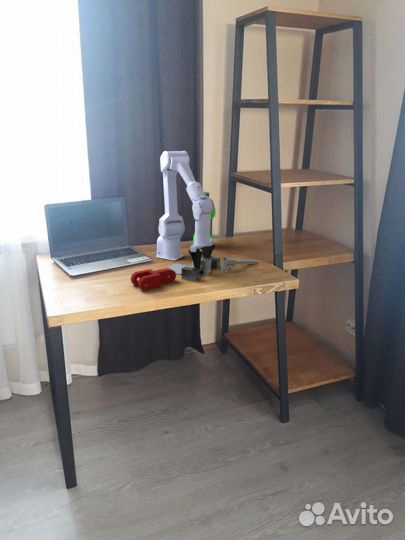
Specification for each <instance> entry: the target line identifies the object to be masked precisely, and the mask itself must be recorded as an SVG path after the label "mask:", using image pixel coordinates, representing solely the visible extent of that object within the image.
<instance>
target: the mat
mask: <svg viewBox="0 0 405 540" xmlns="http://www.w3.org/2000/svg"><path fill="white" fill-rule="evenodd" d="M185 266H187V267H192V265H191V266H190V265H186V264H185V265H184V264H180V263H173V264H172V265H170V266H168V267H167V268H170V269H172V270H173V271H175V273H176V276H177V275H178V276H181V275H182V268H183V267H185Z"/></svg>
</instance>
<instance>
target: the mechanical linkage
mask: <svg viewBox="0 0 405 540" xmlns="http://www.w3.org/2000/svg"><path fill="white" fill-rule="evenodd" d="M176 278H177V274H176V273H175V271H173V270H172V269H170V268H168V267H166V268H162V269H157V270H153V269H152V268H149V269H143V270H139V271H138V270H137V271H135V272H133V273H131V276H130V283H131V284H132V285H133V286H135V287H138V288H139V289H140V290H141V291H142V292H146V291H150V290H156V289H159V288H161V287H162V285H165V284H170V283H173V282H175V280H176Z"/></svg>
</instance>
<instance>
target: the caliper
mask: <svg viewBox="0 0 405 540" xmlns="http://www.w3.org/2000/svg"><path fill="white" fill-rule="evenodd" d="M254 264H258V261H257V260H255V259H249V260H248V259H247V260H245V259H244V260H242V259H241V260H240V259H239V260H237V259H229V257H228V256H223V259H222V260H221V263H220V272H221V273H223V272H225V271H227V272H228V270H229V267H236V265H254Z"/></svg>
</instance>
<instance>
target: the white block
mask: <svg viewBox="0 0 405 540" xmlns="http://www.w3.org/2000/svg"><path fill="white" fill-rule="evenodd" d="M191 263H192V264H191V267H192V268H194V265H193V261H192V260H191ZM200 266H203V274H202V275H203V276H208V275H209V274H211V273H210V272H212V268H211V259H208V258H203V256H202V258H201V264H200Z"/></svg>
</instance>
